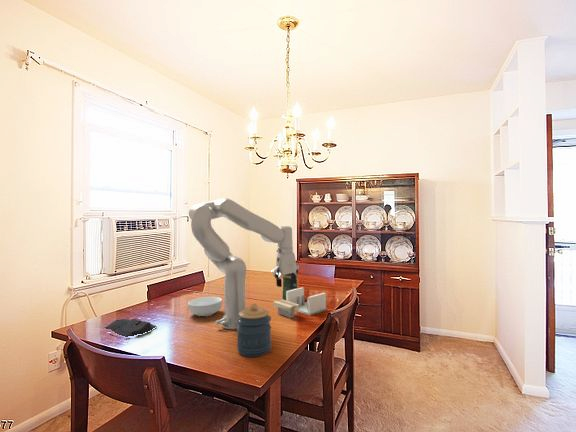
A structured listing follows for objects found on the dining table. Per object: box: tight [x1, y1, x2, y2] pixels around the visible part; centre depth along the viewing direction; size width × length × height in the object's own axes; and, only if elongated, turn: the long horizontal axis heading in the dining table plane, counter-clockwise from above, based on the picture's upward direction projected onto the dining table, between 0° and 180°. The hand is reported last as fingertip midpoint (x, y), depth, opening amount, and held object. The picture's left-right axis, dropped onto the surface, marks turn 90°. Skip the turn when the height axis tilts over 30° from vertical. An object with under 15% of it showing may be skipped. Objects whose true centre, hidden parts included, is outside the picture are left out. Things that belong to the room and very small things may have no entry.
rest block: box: [277, 308, 295, 319], centre depth 158 cm, size 3×9×4 cm, turn 41°
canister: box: [236, 302, 272, 358], centre depth 119 cm, size 13×13×18 cm
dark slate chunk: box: [104, 318, 158, 337], centre depth 141 cm, size 15×22×5 cm
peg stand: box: [286, 286, 327, 316], centre depth 167 cm, size 12×18×9 cm, turn 41°
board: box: [272, 299, 299, 312], centre depth 158 cm, size 6×13×2 cm, turn 41°
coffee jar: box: [281, 271, 299, 300], centre depth 186 cm, size 10×8×19 cm
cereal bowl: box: [187, 296, 223, 317], centre depth 161 cm, size 17×17×7 cm
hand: (286, 284), depth 158 cm, fingers open, 9 cm apart
